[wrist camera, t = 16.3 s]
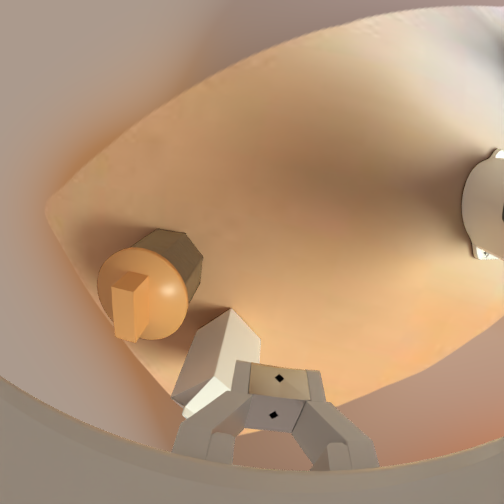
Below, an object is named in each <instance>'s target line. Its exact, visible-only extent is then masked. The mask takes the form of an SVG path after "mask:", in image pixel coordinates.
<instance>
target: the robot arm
mask: <svg viewBox="0 0 504 504" xmlns="http://www.w3.org/2000/svg"><path fill="white" fill-rule="evenodd" d="M462 216H463V222H464V226H465V229H466V231H467V233H468V235H469V237H470V239H471V241H472V248H473V254H474V257H475V258H477V259H479V260H487V259H501V260H503V261H504V151H503V150H501V149H496V150H495V151H494V152H493V154H492V155H491V157H490V158H488V159H487V160H484V161H482V162H480V163H479V164H477V165H476V166H475V167H474V169H473V170H472V171H471V173H470V175H469V176H468V179H467V181H466V184H465V187H464V191H463V197H462ZM484 251H485V252H484ZM244 428H250V429H260V430H270V431H278V432H287V433H292V435H293V437H294V438H295V440H296V441H297V443H298V444H299V445H300V447H301V448H302V449H303V451H304V453H305V454H306V455H307V457H308V458H309V459H310V461H311V462H312V463H313V467H312V468H311V469H310V471H294V470H275V469H264V468H254V467H245V466H238V465H232V461H233V452H234V444H235V437H237V436H238V434H239V433H240V432H241V431H242V430H243V429H244ZM0 504H504V437H501V438H498V439H496V440H493V441H490V442H488V443H485V444H482V445H479V446H476V447H473V448H470V449H466V450H463V451H459V452H456V453H452V454H448V455H445V456H440V457H436V458H432V459H427V460H423V461H418V462H412V463H406V464H400V465H393V466H386V467H380V466H379V463H378V459H377V455H376V451H375V448H374V444H373V441H372V440H371V439H370V438H369V437H368V436H366V435H365V434H364V433H363V432H362V431H361V430H360V429H359V428H357V427H356V426H355V425H354V424H353V423H352V422H351V421H350V420H349V419H348V418H346V417H345V416H344V415H343V414H342V413H341V412H340V411H339V410H338V409H337V408H336V407H335V406H334V405H333V404H332V403H330V402H326V398H325V393H324V388H323V383H322V378H321V373H320V371H317V370H302V369H293V368H284V367H277V366H271V365H265V364H259V363H253V362H251V363H250V362H247V361H241V360H236V364H235V369H234V374H233V380H232V385H231V391H225V392H224V393H223V394H221V395H220V396H219V397H217V398H216V399H214V400H213V401H212V402H210V403H209V404H208V405H206V406H205V407H203V408H202V409H201V410H199V411H198V412H196V413H195V414H193V415H192V416H191V417H189V418H188V419H186V420H185V421H183V422H182V423H181V424H180V427H179V430H178V433H177V436H176V440H175V443H174V446H173V449H172V452H167V451H164V450H161V449H157V448H153V447H150V446H147V445H143V444H141V443H137V442H134V441H131V440H128V439H126V438H123V437H120V436H117V435H115V434H112V433H109V432H107V431H104V430H101V429H99V428H97V427H94V426H92V425H90V424H87V423H85V422H82V421H80V420H78V419H76V418H74V417H72V416H70V415H68V414H65V413H63V412H61V411H59V410H57V409H55V408H54V407H52V406H50V405H48V404H46V403H44V402H42V401H41V400H39V399H37V398H35V397H33V396H32V395H30V394H28V393H26V392H25V391H23V390H21V389H20V388H18V387H17V386H15V385H14V384H12V383H10V382H9V381H7V380H6V379H4V378H3V377H1V376H0Z"/></svg>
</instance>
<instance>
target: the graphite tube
mask: <svg viewBox="0 0 504 504" xmlns="http://www.w3.org/2000/svg"><path fill="white" fill-rule="evenodd" d="M131 247H138V248H145V249H148V250H151V251H154V252H156V253H158V254H159V255H161V256H163V257H164V258H165V259H167V260H168V261H169V262H170V263H171V264H172V265H173V266H174V267H175V268H176V269H177V271H178V272H179V274H180V275H181V277H182V279H183V281H184V283H185V286H186V289H187V292H188V305H189V303H190V301H191V299H192V297H193V295H194V293H195V292H196V290H197V288H198V286H199V284H200V278H201V268H202V259H203V256H202V255H201V253H200V252H199V251H198V250H197V248H196V247H195V246H194V244H193V243H192V242H191V240H190V239H189V238H188V237H187V235H186V234H185V233H180V232H174V231H168V230H162V229H156V230H155V231H153V232H152V233H150V234H149V235H147V236H146V237H144V238H143V239H142V240H140V241H139V242H137V243H136V244H134V245H133V246H131ZM131 247H130V248H131Z"/></svg>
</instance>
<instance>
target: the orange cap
mask: <svg viewBox="0 0 504 504" xmlns="http://www.w3.org/2000/svg"><path fill="white" fill-rule="evenodd" d="M97 289H98V295H99V299H100V302H101V304H102V306H103V308H104V310H105V312H106V313H107V315H108V316H109V317H110V319H111V320H112V321H113V322H114V330H115V337H116V338H120V339H123V340H126V341H130V342H133V343H136V341H137V340H138V338H142V339H148V340H157V339H162V338H165V337H168V336H170V335H171V334H173V333H174V332H175V331H176V330H177V329H178V328H179V327H180V326H181V324H182V322H183V320H184V318H185V316H186V313H187V310H188V292H187V289H186V286H185V283H184V281H183V279H182V277H181V275H180V274H179V272H178V271H177V269H176V268H175V267H174V266H173V265H172V264H171V263H170V262H169V261H168V260H167V259H165V258H164V257H163V256H161V255H159V254H158V253H156V252H154V251H151V250H148V249H145V248H138V247H131V248H125V249H123V250H120V251H118V252H116V253H115V254H113V255H112V256H111V257H109V258H108V259H107V260H106V261H105V262H104V264H103V265H102V267H101V269H100V271H99V275H98V280H97Z"/></svg>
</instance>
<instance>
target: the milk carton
mask: <svg viewBox="0 0 504 504" xmlns="http://www.w3.org/2000/svg"><path fill="white" fill-rule="evenodd" d="M260 345H261V339H260V338H259V337H258V336H257V335H256V334H255V333H254V332H253V331H252V330H251V328H250V327H249V326H248V325H247V324H246V323H245V322H244V321H243V320H242V319H241V318H240V317H239V315H238V314H237V313H236V312H235V311H234V310H233V309H232V308H231V309H229V310H228V311H226V312H225V313H223V314H222V315H220V316H219V317H217V318H216V319H214V320H213V321H211V322H209V323H208V324H206V325H205V326H203V327H202V328H200V329H199V330H197V332H196V334H195V337H194V339H193V342H192V344H191V347H190V349H189V352H188V354H187V357H186V359H185V362H184V364H183V367H182V369H181V372H180V374H179V377H178V380H177V382H176V385H175V387H174V390H173V392H172V395H171V399H172V400H174V401H175V402H176V403H177V404H179V405H180V406H181V407H182V408H183V412H182V415H183V416H184V417H185V418H186V419H188V418H189V417H191V416H192V415H193V414H195V413H196V412H198V411H199V410H201V409H202V408H203V407H205V406H206V405H208V404H209V403H210V402H212V401H213V400H214V399H216V398H217V397H219V396H220V395H221V394H223V393H224V392H225V391H231V385H232V380H233V374H234V369H235V364H236V360H241V361H247V362H250V363H251V362H253V363H259V362H260Z"/></svg>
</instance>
